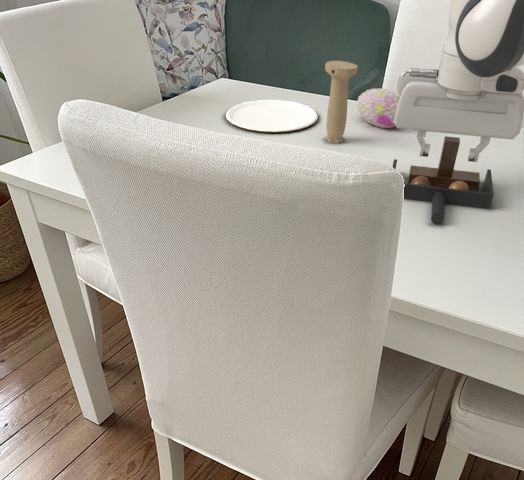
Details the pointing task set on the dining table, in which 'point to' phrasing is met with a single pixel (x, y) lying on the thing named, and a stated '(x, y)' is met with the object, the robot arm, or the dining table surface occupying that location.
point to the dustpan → (449, 196)
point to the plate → (271, 116)
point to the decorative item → (378, 107)
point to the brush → (446, 169)
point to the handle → (338, 98)
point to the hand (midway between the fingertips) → (447, 158)
